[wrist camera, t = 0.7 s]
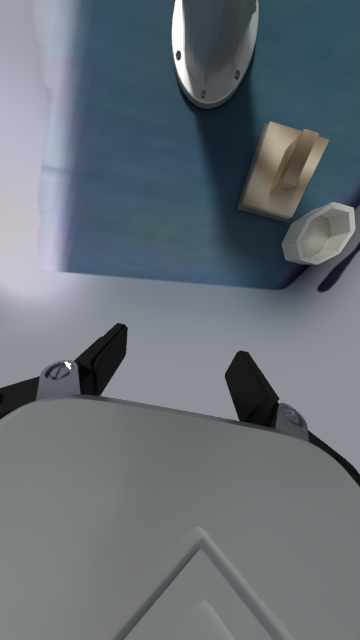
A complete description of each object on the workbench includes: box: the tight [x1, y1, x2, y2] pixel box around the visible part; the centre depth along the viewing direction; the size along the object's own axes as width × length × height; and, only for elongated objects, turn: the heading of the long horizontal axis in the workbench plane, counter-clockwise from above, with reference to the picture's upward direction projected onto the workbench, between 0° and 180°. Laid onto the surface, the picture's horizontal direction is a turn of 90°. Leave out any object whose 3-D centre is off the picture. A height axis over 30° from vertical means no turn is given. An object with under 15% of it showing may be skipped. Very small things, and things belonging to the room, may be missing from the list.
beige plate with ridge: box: [241, 121, 329, 219], centre depth 23 cm, size 11×11×5 cm
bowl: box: [282, 202, 355, 265], centre depth 28 cm, size 10×10×4 cm
